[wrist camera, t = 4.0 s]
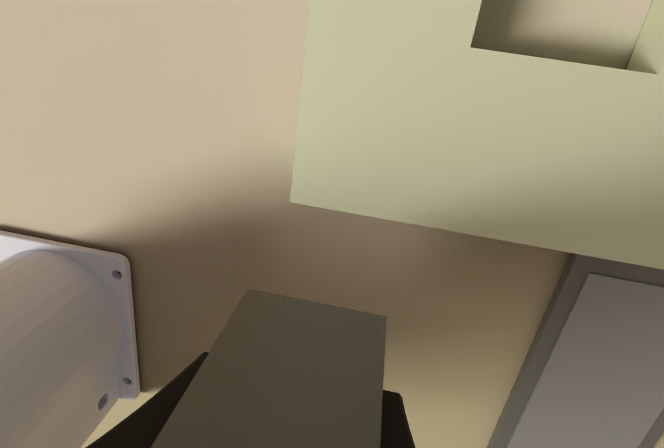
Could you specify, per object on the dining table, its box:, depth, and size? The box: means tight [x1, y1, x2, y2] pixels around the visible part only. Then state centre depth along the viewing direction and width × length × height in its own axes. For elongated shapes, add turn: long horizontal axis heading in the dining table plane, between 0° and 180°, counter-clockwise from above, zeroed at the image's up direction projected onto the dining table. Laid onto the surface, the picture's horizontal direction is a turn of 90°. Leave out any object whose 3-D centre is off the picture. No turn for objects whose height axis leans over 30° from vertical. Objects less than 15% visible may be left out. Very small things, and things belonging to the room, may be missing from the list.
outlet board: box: [290, 0, 664, 270], centre depth 13 cm, size 14×14×2 cm
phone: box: [487, 253, 664, 448], centre depth 19 cm, size 13×7×1 cm, turn 171°
